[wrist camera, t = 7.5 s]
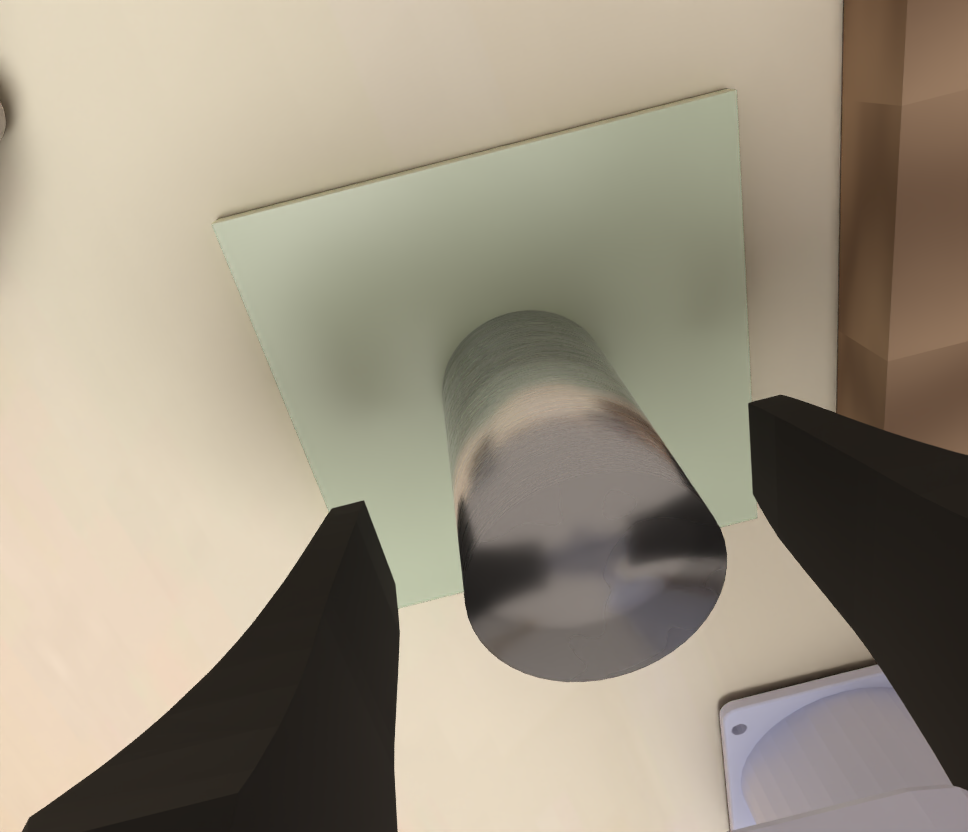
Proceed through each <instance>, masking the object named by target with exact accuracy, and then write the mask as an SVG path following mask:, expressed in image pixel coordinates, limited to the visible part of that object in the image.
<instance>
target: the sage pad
mask: <svg viewBox="0 0 968 832" xmlns="http://www.w3.org/2000/svg"><path fill="white" fill-rule="evenodd" d="M212 227H213V229H214V232H215V234H216V237H217V239H218V242H219V244H220V246H221V249H222V251H223V254H224V256H225V259H226V261H227V264H228V266H229V269H230V271H231V273H232V276H233V278H234V281H235V283H236V286H237V288H238V291H239V293H240V295H241V298H242V300H243V303H244V305H245V308H246V310H247V313H248V315H249V317H250V320H251V322H252V325H253V327H254V330H255V332H256V335H257V337H258V340H259V342H260V344H261V347H262V349H263V352H264V354H265V357H266V359H267V362H268V364H269V366H270V369H271V371H272V374H273V376H274V379H275V381H276V384H277V386H278V388H279V391H280V393H281V396H282V398H283V401H284V403H285V406H286V408H287V411H288V413H289V415H290V418H291V420H292V423H293V425H294V428H295V430H296V433H297V435H298V437H299V440H300V442H301V445H302V447H303V450H304V452H305V455H306V457H307V459H308V462H309V464H310V467H311V469H312V472H313V474H314V477H315V479H316V481H317V484H318V486H319V489H320V491H321V494H322V496H323V499H324V501H325V504H326V506H327V508H328V511H329V512H330V510H331V509H332V508H335V507H339V506H343V505H347V504H351V503H355V502H359V501H363V500H364V501H365V504H366V507H367V509H368V512H369V515H370V517H371V520H372V523H373V525H374V528H375V531H376V533H377V536H378V539H379V541H380V544H381V547H382V549H383V552H384V555H385V557H386V560H387V563H388V565H389V568H390V571H391V573H392V576H393V579H394V581H395V584H396V594H397V605H398V609H399V608H403V607H407V606H411V605H415V604H419V603H423V602H427V601H431V600H435V599H439V598H442V597H446V596H450V595H454V594H458V593H462V592H464V589H463V580H462V571H461V562H460V553H459V544H458V535H457V526H456V517H455V508H454V499H453V490H452V481H451V472H450V463H449V454H448V445H447V436H446V427H445V418H444V409H443V400H442V385H443V378H444V374H445V370H446V367H447V365H448V362H449V360H450V358H451V356H452V355H453V353H454V351H455V350H456V348H457V347H458V346H459V344H460V343H461V342H462V341H463V340H464V339H465V338H466V337H467V335H468V334H470V333H471V332H472V331H473V330H475V329H476V328H477V327H479V326H480V325H482V324H483V323H485V322H487V321H489V320H491V319H493V318H495V317H497V316H500V315H504V314H507V313H511V312H516V311H525V310H537V311H546V312H551V313H555V314H558V315H561V316H564V317H566V318H568V319H570V320H572V321H574V322H575V323H577V324H578V325H579V326H581V327H582V328H583V329H584V330H586V331H587V332H588V333H589V334H590V335H591V337H592V338H593V339H594V340H595V342H596V343H597V344H598V346H599V347H600V349H601V350H602V352H603V353H604V355H605V356H606V358H607V359H608V361H609V362H610V364H611V365H612V367H613V368H614V370H615V371H616V373H617V374H618V376H619V377H620V378H621V380H622V381H623V383H624V384H625V386H626V387H627V389H628V390H629V392H630V393H631V395H632V396H633V398H634V399H635V401H636V402H637V404H638V405H639V407H640V408H641V410H642V411H643V413H644V414H645V415H646V417H647V418H648V420H649V421H650V423H651V424H652V426H653V427H654V429H655V430H656V432H657V433H658V435H659V436H660V438H661V439H662V441H663V442H664V444H665V445H666V447H667V448H668V450H669V451H670V453H671V454H672V455H673V457H674V458H675V460H676V461H677V463H678V464H679V466H680V467H681V469H682V470H683V472H684V473H685V475H686V476H687V478H688V479H689V481H690V482H691V484H692V485H693V487H694V488H695V490H696V491H697V493H698V494H699V495H700V497H701V498H702V500H703V501H704V503H705V504H706V506H707V507H708V509H709V510H710V512H711V513H712V515H713V516H714V518H715V520H716V522H717V523H718V525H719V527H724V526H728V525H732V524H736V523H740V522H744V521H748V520H752V519H756V518H757V501H756V499H755V497H754V496H753V490H752V470H751V451H750V432H749V412H748V403H750V402H752V395H751V374H750V353H749V333H748V312H747V291H746V270H745V250H744V229H743V208H742V188H741V167H740V146H739V126H738V105H737V90H733V89H724V90H720V91H716V92H712V93H708V94H704V95H701V96H697V97H693V98H689V99H685V100H681V101H677V102H673V103H669V104H665V105H662V106H658V107H654V108H650V109H646V110H642V111H638V112H634V113H630V114H626V115H623V116H619V117H615V118H611V119H607V120H603V121H599V122H595V123H591V124H587V125H583V126H580V127H576V128H572V129H568V130H564V131H560V132H556V133H552V134H548V135H544V136H541V137H537V138H533V139H529V140H525V141H521V142H517V143H513V144H509V145H505V146H502V147H498V148H494V149H490V150H486V151H482V152H478V153H474V154H470V155H466V156H462V157H459V158H455V159H451V160H447V161H443V162H439V163H435V164H431V165H427V166H423V167H420V168H416V169H412V170H408V171H404V172H400V173H396V174H392V175H388V176H384V177H380V178H377V179H373V180H369V181H365V182H361V183H357V184H353V185H349V186H345V187H341V188H338V189H334V190H330V191H326V192H322V193H318V194H314V195H310V196H306V197H302V198H299V199H295V200H291V201H287V202H283V203H279V204H275V205H271V206H267V207H263V208H259V209H256V210H252V211H248V212H244V213H240V214H236V215H232V216H228V217H224V218H220V219H217V220H216V221H215V222H214V223H213V224H212Z"/></svg>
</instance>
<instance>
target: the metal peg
mask: <svg viewBox="0 0 968 832" xmlns="http://www.w3.org/2000/svg"><path fill="white" fill-rule="evenodd" d="M442 400H443V409H444V418H445V427H446V436H447V445H448V454H449V463H450V472H451V481H452V490H453V499H454V508H455V517H456V526H457V535H458V544H459V553H460V562H461V571H462V580H463V589H464V598H465V606H466V610H467V614H468V618H469V621H470V623H471V626H472V628H473V630H474V632H475V633H476V635H477V637H478V638H479V640H480V641H481V642H482V643H483V645H484V646H485V647H486V648H487V649H488V650H489V651H490V652H491V653H492V654H493V655H494V656H496V657H497V658H498V659H499V660H501V661H502V662H504V663H506V664H507V665H509V666H510V667H512V668H514V669H517V670H519V671H521V672H523V673H526V674H529V675H532V676H535V677H538V678H543V679H548V680H553V681H564V682H587V681H597V680H603V679H608V678H613V677H617V676H621V675H624V674H627V673H631V672H633V671H636V670H638V669H641V668H643V667H646V666H648V665H650V664H652V663H654V662H656V661H658V660H660V659H661V658H663V657H664V656H666V655H668V654H669V653H671V652H672V651H674V650H675V649H676V648H678V647H679V646H680V645H681V644H683V643H684V642H685V641H686V640H687V639H688V638H689V637H691V636H692V635H693V634H694V633H695V632H696V631H697V630H698V628H699V627H700V626H701V625H702V624H703V622H704V621H705V620H706V619H707V617H708V616H709V614H710V612H711V611H712V609H713V608H714V606H715V604H716V602H717V600H718V598H719V596H720V593H721V590H722V587H723V584H724V581H725V575H726V569H727V552H726V546H725V540H724V538H723V535H722V532H721V529H720V527H719V525H718V523H717V522H716V520H715V518H714V516H713V515H712V513H711V512H710V510H709V509H708V507H707V506H706V504H705V503H704V501H703V500H702V498H701V497H700V495H699V494H698V493H697V491H696V490H695V488H694V487H693V485H692V484H691V482H690V481H689V479H688V478H687V476H686V475H685V473H684V472H683V470H682V469H681V467H680V466H679V464H678V463H677V461H676V460H675V458H674V457H673V455H672V454H671V453H670V451H669V450H668V448H667V447H666V445H665V444H664V442H663V441H662V439H661V438H660V436H659V435H658V433H657V432H656V430H655V429H654V427H653V426H652V424H651V423H650V421H649V420H648V418H647V417H646V415H645V414H644V413H643V411H642V410H641V408H640V407H639V405H638V404H637V402H636V401H635V399H634V398H633V396H632V395H631V393H630V392H629V390H628V389H627V387H626V386H625V384H624V383H623V381H622V380H621V378H620V377H619V376H618V374H617V373H616V371H615V370H614V368H613V367H612V365H611V364H610V362H609V361H608V359H607V358H606V356H605V355H604V353H603V352H602V350H601V349H600V347H599V346H598V344H597V343H596V342H595V340H594V339H593V338H592V337H591V335H590V334H589V333H588V332H587V331H586V330H584V329H583V328H582V327H581V326H579V325H578V324H577V323H575V322H574V321H572V320H570V319H568V318H566V317H564V316H561V315H558V314H555V313H551V312H546V311H537V310H525V311H516V312H511V313H507V314H504V315H500V316H497V317H495V318H493V319H491V320H489V321H487V322H485V323H483V324H482V325H480V326H479V327H477V328H476V329H475V330H473V331H472V332H471V333H470V334H468V335H467V337H466V338H465V339H464V340H463V341H462V342H461V343H460V344H459V346H458V347H457V348H456V350H455V351H454V353H453V355H452V356H451V358H450V360H449V362H448V365H447V367H446V370H445V374H444V378H443V385H442Z"/></svg>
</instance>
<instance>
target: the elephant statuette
mask: <svg viewBox="0 0 968 832" xmlns="http://www.w3.org/2000/svg"><path fill="white" fill-rule="evenodd" d="M5 127H6V118H5V112H4V109H3V106H2V104H1V102H0V140H1V138H2V137H3V135H4V132H5Z"/></svg>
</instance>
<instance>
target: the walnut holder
mask: <svg viewBox="0 0 968 832" xmlns="http://www.w3.org/2000/svg"><path fill="white" fill-rule="evenodd" d="M837 414H840V415H843V416H845V417H848V418H851V419H854V420H857V421H859V422H862V423H865V424H868V425H871V426H874V427H876V428H879V429H882V430H885V431H888V432H891V433H894V434H897V435H900V436H903V437H907V438H910V439H913V440H916V441H920V442H923V443H926V444H930V445H933V446H937V447H940V448H943V449H947V450H950V451H954V452H958V453H962V454H965V455H968V0H844V31H843V89H842V147H841V204H840V262H839V320H838V378H837Z"/></svg>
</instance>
